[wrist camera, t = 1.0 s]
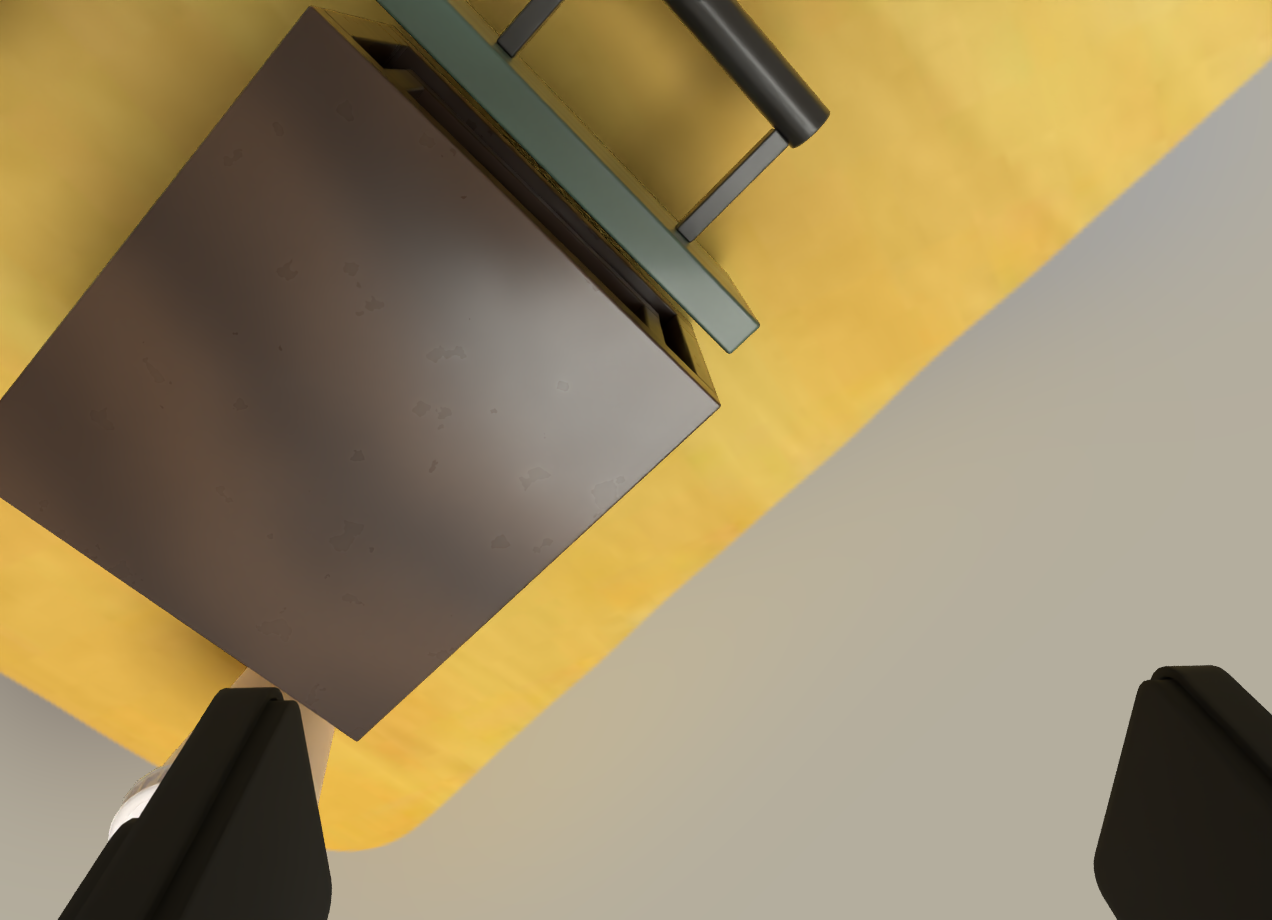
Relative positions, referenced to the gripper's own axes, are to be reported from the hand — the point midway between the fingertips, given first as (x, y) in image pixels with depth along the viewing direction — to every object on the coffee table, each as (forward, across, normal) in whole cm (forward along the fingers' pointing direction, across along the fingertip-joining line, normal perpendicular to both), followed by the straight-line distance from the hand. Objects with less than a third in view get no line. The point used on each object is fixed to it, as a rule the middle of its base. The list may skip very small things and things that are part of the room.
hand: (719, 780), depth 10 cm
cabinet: (+24, +9, +2) cm, 26 cm away
